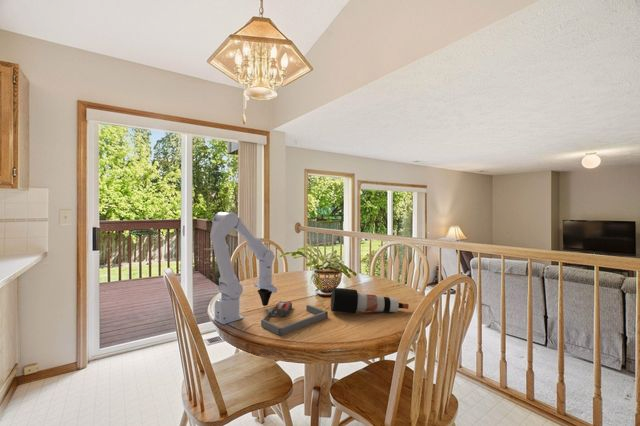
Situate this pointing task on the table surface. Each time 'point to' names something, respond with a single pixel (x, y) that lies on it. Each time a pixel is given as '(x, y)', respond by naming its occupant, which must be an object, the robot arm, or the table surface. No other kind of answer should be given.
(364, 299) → the striped bottle
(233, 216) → the robot arm
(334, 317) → the table surface
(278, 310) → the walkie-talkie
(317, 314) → the charging dock
